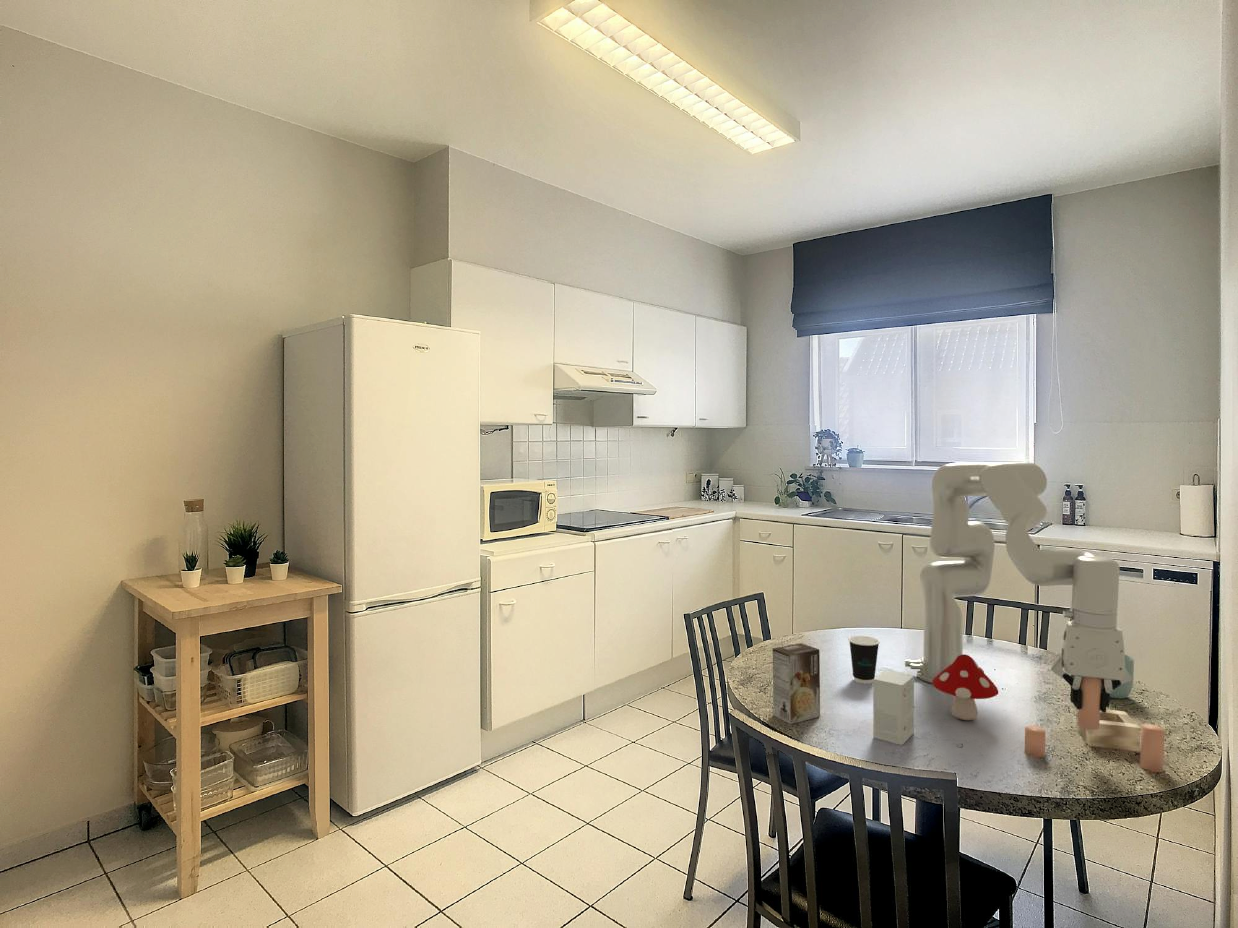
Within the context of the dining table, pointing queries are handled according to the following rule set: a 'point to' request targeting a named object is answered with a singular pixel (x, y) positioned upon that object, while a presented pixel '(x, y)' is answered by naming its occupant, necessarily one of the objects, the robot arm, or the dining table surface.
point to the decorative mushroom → (965, 686)
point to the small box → (893, 706)
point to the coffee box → (796, 683)
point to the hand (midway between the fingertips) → (1089, 707)
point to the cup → (1126, 688)
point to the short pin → (1035, 741)
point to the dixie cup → (864, 658)
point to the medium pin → (1152, 748)
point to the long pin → (1090, 703)
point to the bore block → (1113, 732)
